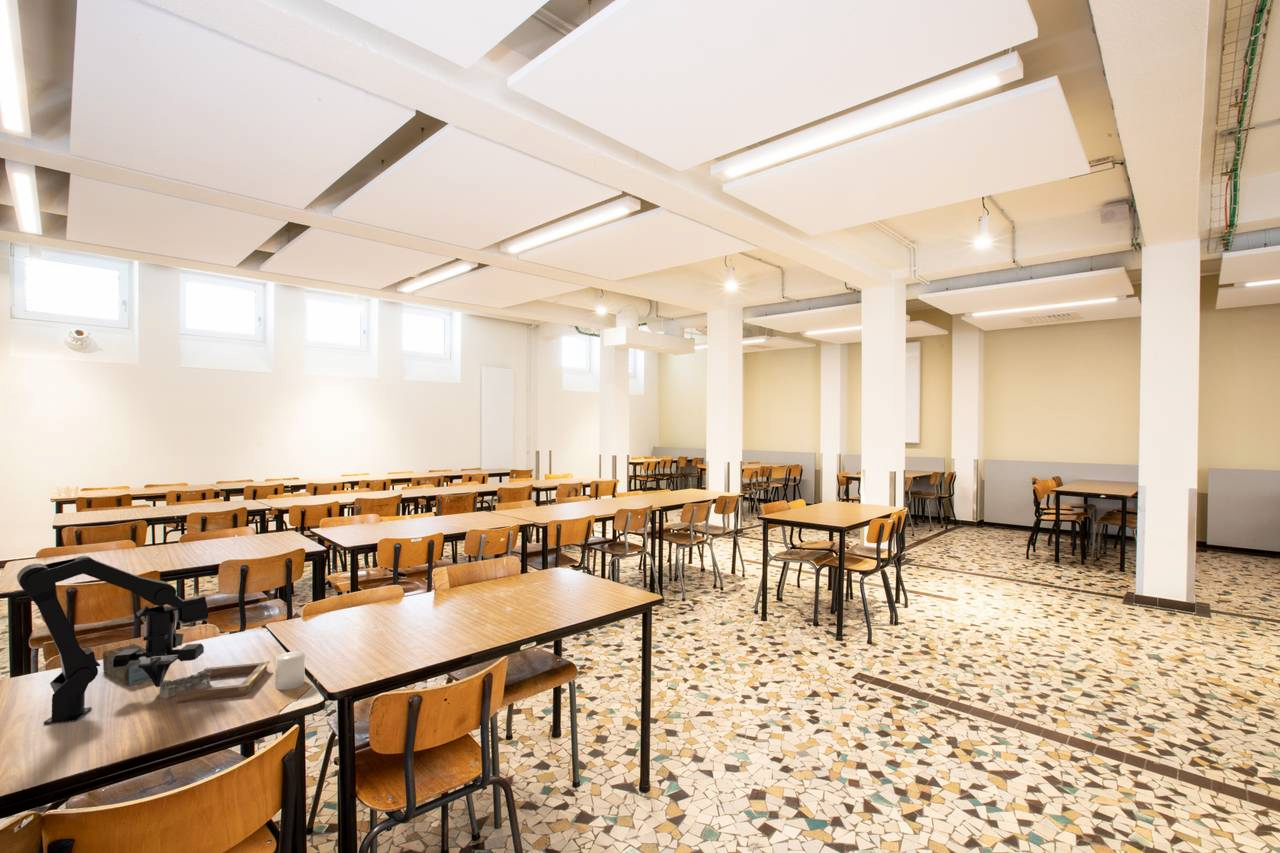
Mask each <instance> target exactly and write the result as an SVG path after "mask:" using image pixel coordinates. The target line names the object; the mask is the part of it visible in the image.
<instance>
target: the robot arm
mask: <svg viewBox="0 0 1280 853" xmlns="http://www.w3.org/2000/svg"><path fill="white" fill-rule="evenodd" d="M80 575H86V576H88V577H91V578H94V579H97V580H100V581H102V582H105V583H108V584H111V585H114V586H115V587H118V588H122V589H125V590H126V591H131V592H132V593H134V594H135V595H137V596H139V597H140V598H141V599H144V601H147V602H149V603H150V604H153V605H154V606H152V607H151V606H150V607H149V606H147V605H146V604H145V605H143V607H142V608H141V609H139V610H138V611H137V612H136V615H137V616H138V617H140V618H143V617H145V625H146V626H145V636H143V638H142V639H143V642H145V649H146V651H145V652H141V649H140V648H138V649H126V650H123V651H122V652H120V653H119V654H117V655H115V656H114V657H113V659H112V667H122V666H126V665H127V664H128V663H129V662H130V661H133V660H140V665H139V666H138V668H142V669H143V670H144V671H145V672H146V673H147V674H148V676H149V677H150V678H151V679H150V680H151V681H152V683H153V685H154V686H155V688H160V687H159V686H160V684H162V683H163V682H164V681H165V678H166V674H167V673H168V670H169V669H170V667H171V665H172V664H173V663H174V662H176V661H177V660H179V661H180V662H189V661H194V660H196V659H198V658H199V657H200V656H201V655H202V654H204V650H205V647H204V645H203V644H202V643H201V642H200V643H191V644H190V643H189V644H187V643H186V645H184V646H183V647H182V648H179V649H177V648H178V647H179V646H182V645H183V639H184V633H177V630H176V628H174V621H175V622H176V623H178V622H179V623H180V625H181V626H182V625H186V624H192V623H196V622H201V621H207V620H208V618H209V608H208V604H207V599H206V598H207V597H205V596H204V595H199V596H196V597H192V598H186V599H182V598H181V597H179V596H178V595H177V590H176V587H174V586H173V585H172V584H170V583H168V582H167V581H164V580H160V579H155V578H150V577H144V576H143V577H142V576H138V575H135V574H133V573H131V572H127V571H124V570H122V569H121V568H120V569H119V568H117V567H114V566H113V565H109V564H106V563H103V562H101V561H99V560H96V559H93V558H92V557H91V556H89V555H80V556H77V557H73V558H70V559H64V560H60V561H59V560H58V561H54V562H49V563H45V564H43V563H32V564H29V565H26V566H24V567H22V568H21V569H20V570H19V571H18V573H17V574H16V580H17V583H18V585H19V586H20V587H21V589H22V590H23V591H24V592H25V593H26V595H27V596H28V597H29V598H30V599H31V601H32V602H34V604H35V605H36V607H37V608H38V611H39V613H40V615H41V617H42V619H43V622H44V623H45V625H46V628H47V629H48V631H49V634H50V636H51V638H52V640H53V642H54V644H55V647H56V648H57V650H58V653H59V660H60V662H59V663H60V666H61V672H60V674H58V675H57V676H56V677H55V678H54V679H53V680H51V681H50V682H49V685H50V687H51V689H52V692H53V694H52V696H51V697H52V698H51V716H50V717H49V718H47V719H46V720H45V721H43V724H44V725H49V724H57V723H59V724H60V723H68V722H75V721H77V720H79V719H80V718H82V717H83V716H84V715H86V714H87V713H89V712H90V711H91V710H93V708H92V706H89V707H86V706H85V698H86V697H85V696H86V690H87V689H88V687H89V684H90V683H92V682H93V681H94V680H95V679H96V677H97V676H98V674H99V670H98V667H101V664H100V663H99V661H98V660H97V658H96V656H95V652H94V650H93V649H92V647H91V646H90V645H89V646H87V647H85V648H83V647H82V646H80V644H79V641H78V638H77V637H76V635H75V633H74V631H73V629H72V627H71V625H70V624H71V623H69V620H68V618H67V615H66V614H65V611H64V609H63V608H62V607H63V606H62V605H61V603H60V600H59V599H58V591H57V583H60V582H64V581H66V580H68V579H71V578H74V577H77V576H80ZM166 605H167V606H169V607H164V606H166Z"/></svg>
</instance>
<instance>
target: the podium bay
mask: <svg viewBox="0 0 1280 853" xmlns="http://www.w3.org/2000/svg"><path fill="white" fill-rule="evenodd" d="M270 662H271V660H267V661H265V662H254V663H243V664H242V663H241V664H233V665H223V666H212V667H205V668H204V669H203V670H202V671H205V670H211V673H210V675H209V676H210V679H213V678H225V677H235V676H243V675H245V676H246V675H248V676H247V677H246V678H245V679H244V680H243V681H242V683H241V684H235V685H225V686H223V685H222V686H214V687H207V688H203V689H193V690H184V691H179V692H178V693H177V695H176V704H179V703H188V702H189V703H190V702H199V701H208V700H209V701H210V700H218V699H227V698H235V697H245V696H246V695H247V694H248V693H249V692H250V690H252V688H253V687H254V686H255V685H256V684H257V682H259V681H260V679H261V678H262V676H264V675H265V673H267V669H268V665H269V664H270Z"/></svg>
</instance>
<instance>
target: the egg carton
mask: <svg viewBox="0 0 1280 853" xmlns="http://www.w3.org/2000/svg"><path fill="white" fill-rule="evenodd" d="M210 673H211V670H205V671H203V670H201V671H198V672H197V674H191V675H190V676H182V677H180V678H176V679H173V680H172V679H167V680H163V682H162V684H160V686H159V687H158V688H159V698H163V699H164V700H165V699H169V698H171V697H173V696H174V697H175V696H177V693H178V692H179V691H184V690H193V689H203V688H208V687H209V686H211V678H210V676H209V675H210Z"/></svg>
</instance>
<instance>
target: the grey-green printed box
mask: <svg viewBox="0 0 1280 853" xmlns="http://www.w3.org/2000/svg"><path fill="white" fill-rule="evenodd" d="M138 648H140V649H141V652H145V651H146V648H144V647H142V646H140V645H138V644H136V643H133V644H130V645H126V646H121V647H117V648H114V649H109V650H105V651H103V653H102V664H103V666H102V668H103V672H105V673H106V674H108V675H109V676H111V675H112V676H111V677H113V676H114V677H113V678H115V679H116V678H117V680H118V679H119V680H118V681H120V682H122V683H123V682H124V683H123V684H125V685H127V684H128V686H129V685H130V686H133V685H135V684H136V683H137V684H139V683H143V682H147V681H150V680H151V678H150V677H149V676H148V674H147V673H146V672H145V671H144V670H143V669H142V668H138V666H139V665H140V660H133V661H130V662H129V663H128V664H127V665H126V666H122V667H112V659H113V657H114V656H115V655H117V654H119V653H120V652H122V651H123V650H126V649H138Z"/></svg>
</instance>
